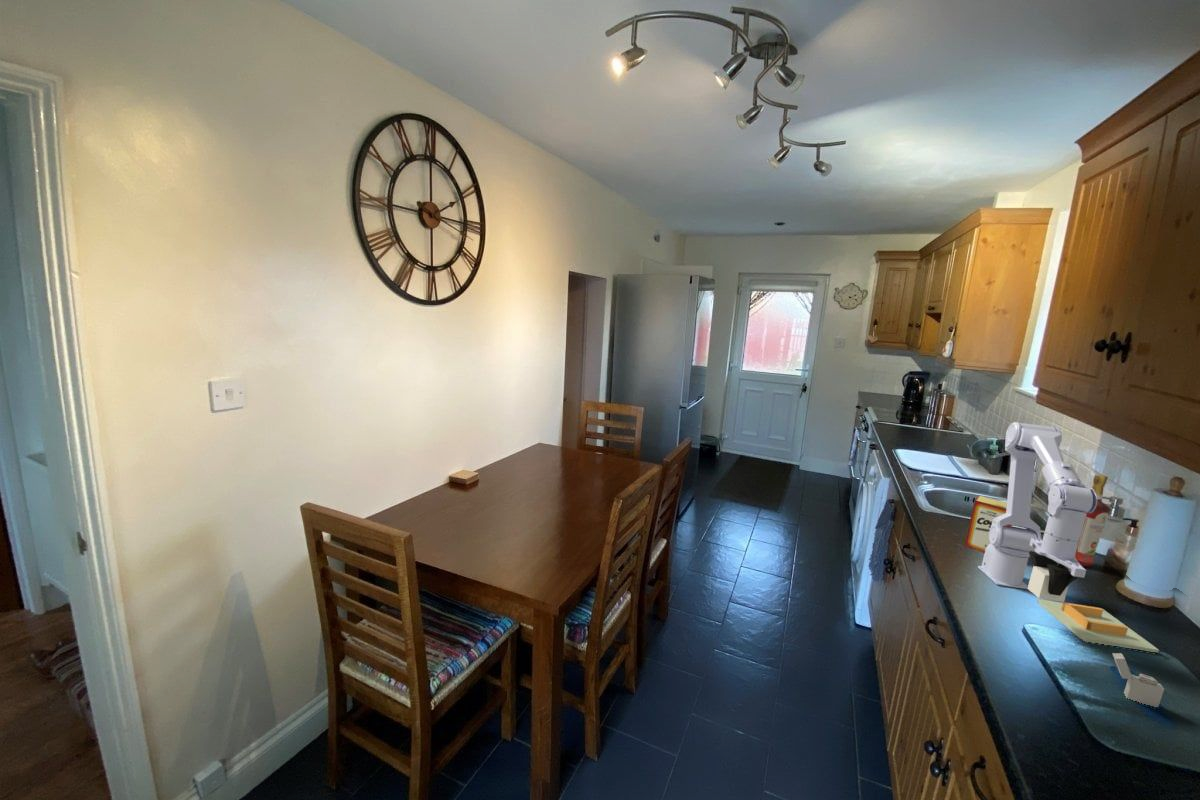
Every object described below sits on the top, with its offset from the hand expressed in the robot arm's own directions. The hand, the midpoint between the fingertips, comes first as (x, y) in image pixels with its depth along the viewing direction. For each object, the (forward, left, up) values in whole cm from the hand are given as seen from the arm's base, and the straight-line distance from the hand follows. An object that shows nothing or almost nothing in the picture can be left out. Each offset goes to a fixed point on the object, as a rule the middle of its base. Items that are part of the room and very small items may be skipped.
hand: (1047, 588), depth 111 cm
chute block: (0, 0, -2) cm, 2 cm away
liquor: (-39, +34, -9) cm, 52 cm away
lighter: (+22, +2, -9) cm, 24 cm away
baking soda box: (-39, +9, -9) cm, 41 cm away
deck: (-2, +13, -9) cm, 16 cm away
